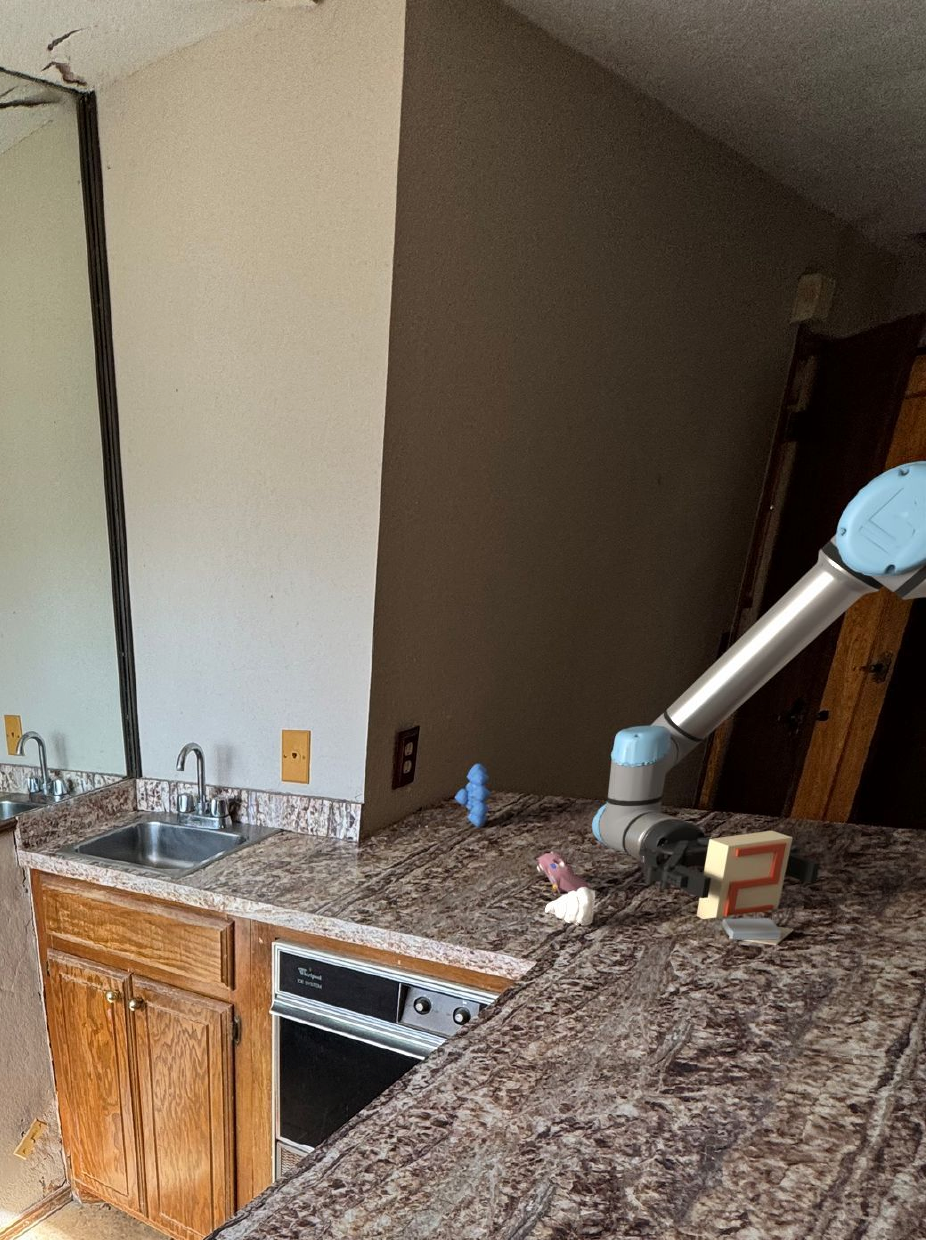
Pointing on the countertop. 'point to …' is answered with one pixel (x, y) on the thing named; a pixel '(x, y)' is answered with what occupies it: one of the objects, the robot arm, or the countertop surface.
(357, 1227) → the countertop surface
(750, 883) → the cream digit block
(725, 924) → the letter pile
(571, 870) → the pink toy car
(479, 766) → the grapes
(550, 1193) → the countertop surface
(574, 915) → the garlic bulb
